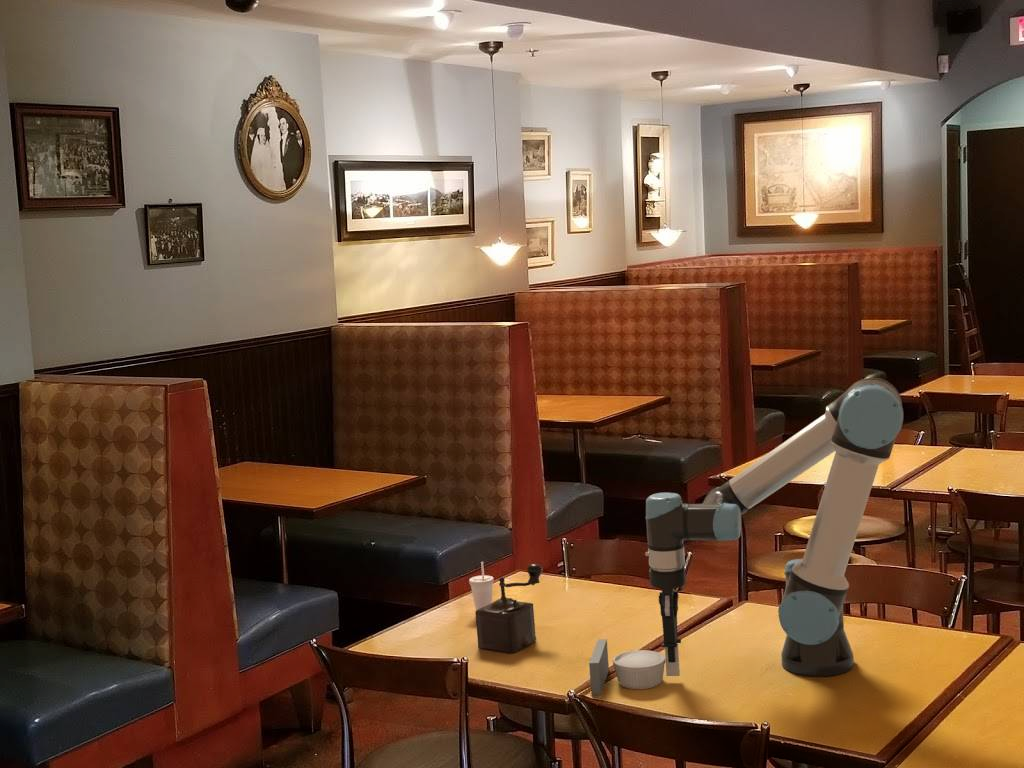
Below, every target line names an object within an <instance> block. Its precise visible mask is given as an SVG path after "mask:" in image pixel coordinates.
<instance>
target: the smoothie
mask: <svg viewBox="0 0 1024 768" xmlns="http://www.w3.org/2000/svg"><path fill="white" fill-rule="evenodd" d="M480 564H481V567H480V569H481V575H476V576H472V577H471V578H469V582H468V583H469V585H470V588H471V592H472V598H473V602H474V607H475V611H476V610H478V609H480V608H482V607H484V606H487V605H489V604H491V603H493V585H494V584H493V583H494V582H495V580H494V576H491V575H488V574H487V575H486V574H485V569H484V561H481V562H480Z"/></svg>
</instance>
